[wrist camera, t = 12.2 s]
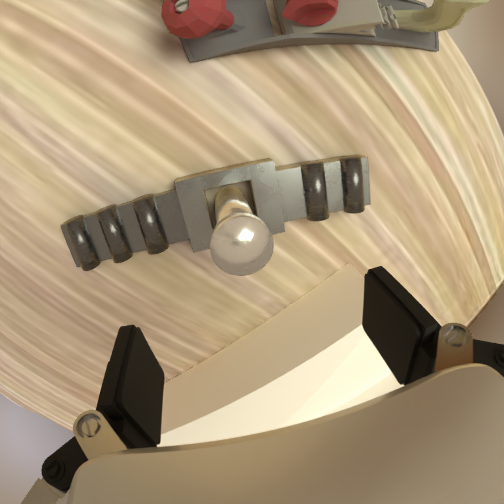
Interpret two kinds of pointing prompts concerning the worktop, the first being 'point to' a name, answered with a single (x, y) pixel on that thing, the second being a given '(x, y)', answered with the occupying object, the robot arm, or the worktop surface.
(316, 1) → the hand plane
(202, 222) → the knobbed grey strip
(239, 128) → the worktop surface
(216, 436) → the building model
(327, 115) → the worktop surface
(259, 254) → the pin
